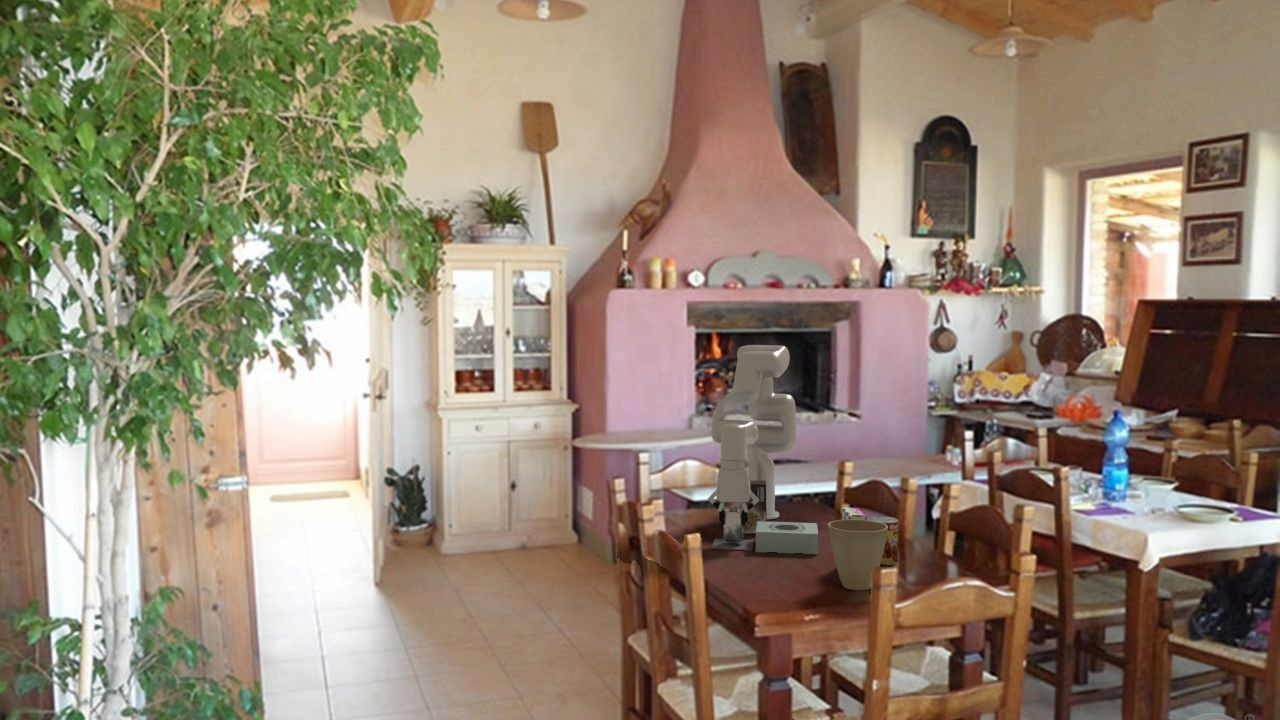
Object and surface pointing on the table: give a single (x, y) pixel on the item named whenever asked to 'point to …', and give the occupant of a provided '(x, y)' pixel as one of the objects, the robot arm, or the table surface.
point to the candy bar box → (853, 514)
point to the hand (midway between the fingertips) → (733, 523)
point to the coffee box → (756, 506)
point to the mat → (733, 545)
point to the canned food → (889, 539)
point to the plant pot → (857, 550)
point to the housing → (787, 537)
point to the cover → (733, 525)
